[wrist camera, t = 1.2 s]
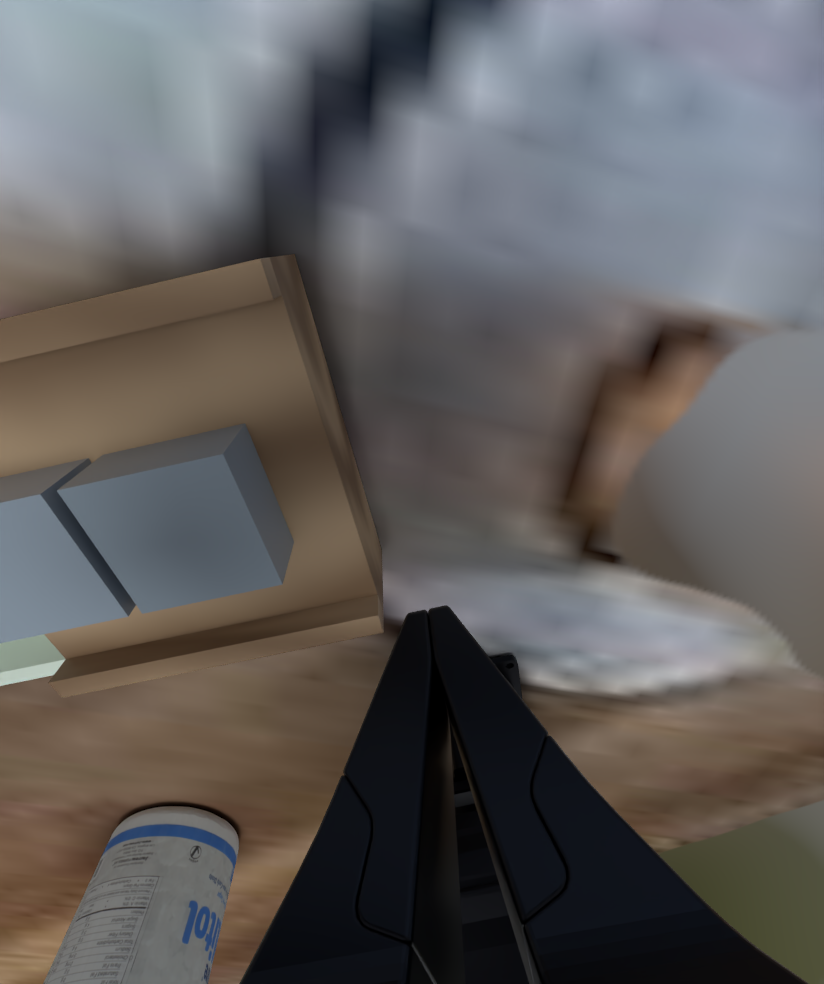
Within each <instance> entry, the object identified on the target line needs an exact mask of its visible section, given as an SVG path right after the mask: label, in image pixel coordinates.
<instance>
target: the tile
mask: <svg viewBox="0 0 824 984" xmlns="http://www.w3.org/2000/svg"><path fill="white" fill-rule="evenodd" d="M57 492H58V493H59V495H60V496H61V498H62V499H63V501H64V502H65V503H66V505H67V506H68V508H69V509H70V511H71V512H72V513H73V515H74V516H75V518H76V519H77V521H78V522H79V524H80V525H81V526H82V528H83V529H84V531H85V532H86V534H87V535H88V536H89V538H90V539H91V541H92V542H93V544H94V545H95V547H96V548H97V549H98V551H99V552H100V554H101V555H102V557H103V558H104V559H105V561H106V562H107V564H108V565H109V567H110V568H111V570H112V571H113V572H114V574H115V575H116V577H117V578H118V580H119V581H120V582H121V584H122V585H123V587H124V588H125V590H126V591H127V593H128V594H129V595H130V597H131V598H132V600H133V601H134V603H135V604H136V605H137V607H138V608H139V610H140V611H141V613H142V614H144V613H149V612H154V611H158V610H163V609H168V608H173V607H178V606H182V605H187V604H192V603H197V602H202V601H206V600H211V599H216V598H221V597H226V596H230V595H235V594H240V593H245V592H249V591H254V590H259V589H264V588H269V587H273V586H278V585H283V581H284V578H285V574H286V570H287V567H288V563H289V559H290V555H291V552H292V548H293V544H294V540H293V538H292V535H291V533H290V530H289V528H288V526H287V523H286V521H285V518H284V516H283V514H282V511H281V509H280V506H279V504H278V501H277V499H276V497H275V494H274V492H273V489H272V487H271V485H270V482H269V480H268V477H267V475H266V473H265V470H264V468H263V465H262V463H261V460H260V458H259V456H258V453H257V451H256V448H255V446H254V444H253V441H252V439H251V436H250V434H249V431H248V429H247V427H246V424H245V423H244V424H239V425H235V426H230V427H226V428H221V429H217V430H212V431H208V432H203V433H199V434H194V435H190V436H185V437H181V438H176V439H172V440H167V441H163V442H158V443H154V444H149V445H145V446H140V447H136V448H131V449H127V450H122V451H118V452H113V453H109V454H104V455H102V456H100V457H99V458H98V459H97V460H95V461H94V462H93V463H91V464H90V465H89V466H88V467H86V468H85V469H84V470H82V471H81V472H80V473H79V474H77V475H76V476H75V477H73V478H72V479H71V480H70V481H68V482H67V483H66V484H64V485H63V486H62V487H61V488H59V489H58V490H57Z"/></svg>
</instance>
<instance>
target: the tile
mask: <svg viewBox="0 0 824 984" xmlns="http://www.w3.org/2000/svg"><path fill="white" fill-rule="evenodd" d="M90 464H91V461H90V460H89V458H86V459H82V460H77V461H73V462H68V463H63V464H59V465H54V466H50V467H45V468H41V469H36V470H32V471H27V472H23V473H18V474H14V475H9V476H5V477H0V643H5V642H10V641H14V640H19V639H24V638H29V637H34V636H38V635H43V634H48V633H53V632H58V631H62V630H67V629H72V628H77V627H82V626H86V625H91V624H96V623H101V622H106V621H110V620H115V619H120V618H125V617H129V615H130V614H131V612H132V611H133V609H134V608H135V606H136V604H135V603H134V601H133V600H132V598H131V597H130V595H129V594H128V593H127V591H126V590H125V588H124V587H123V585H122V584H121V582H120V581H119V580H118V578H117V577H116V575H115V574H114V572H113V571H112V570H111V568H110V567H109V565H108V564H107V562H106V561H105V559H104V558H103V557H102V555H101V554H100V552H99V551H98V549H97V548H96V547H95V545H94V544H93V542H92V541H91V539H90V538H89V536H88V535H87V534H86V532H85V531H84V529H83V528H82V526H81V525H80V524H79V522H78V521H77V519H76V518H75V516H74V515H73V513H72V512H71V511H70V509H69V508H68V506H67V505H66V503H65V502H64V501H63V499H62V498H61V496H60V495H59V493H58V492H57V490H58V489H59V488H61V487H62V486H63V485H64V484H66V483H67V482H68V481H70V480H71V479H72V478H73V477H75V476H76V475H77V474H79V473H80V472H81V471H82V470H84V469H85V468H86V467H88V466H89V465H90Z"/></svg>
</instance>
